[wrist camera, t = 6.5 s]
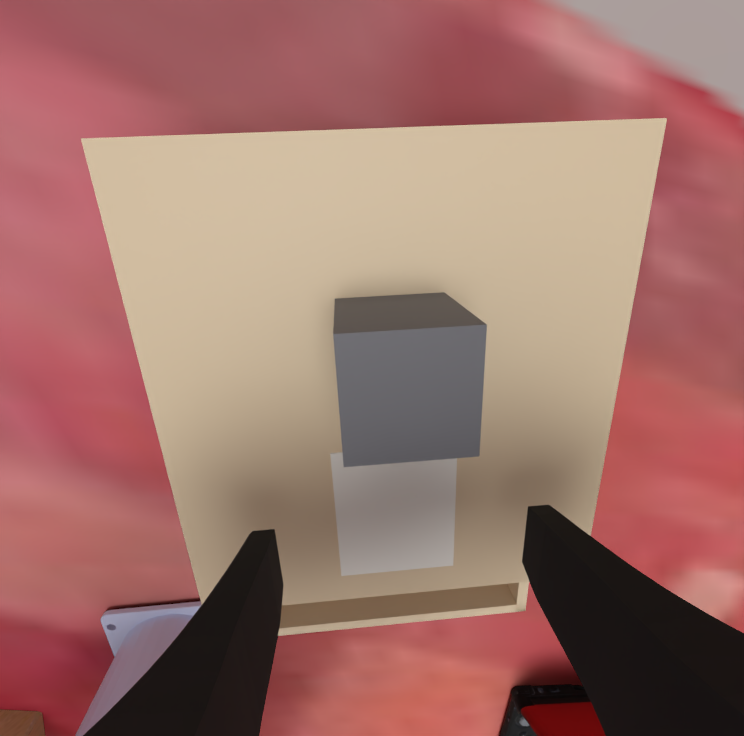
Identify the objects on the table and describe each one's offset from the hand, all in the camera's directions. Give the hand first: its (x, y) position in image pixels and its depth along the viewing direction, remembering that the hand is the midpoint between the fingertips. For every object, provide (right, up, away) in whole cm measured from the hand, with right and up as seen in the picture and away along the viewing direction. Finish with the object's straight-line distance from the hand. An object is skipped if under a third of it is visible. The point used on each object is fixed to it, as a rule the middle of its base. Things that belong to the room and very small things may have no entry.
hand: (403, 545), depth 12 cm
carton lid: (0, +4, +1) cm, 4 cm away
